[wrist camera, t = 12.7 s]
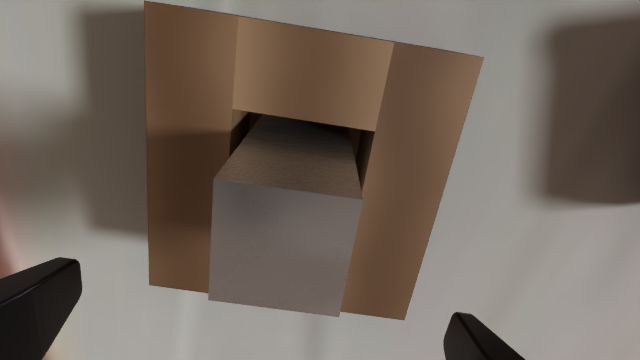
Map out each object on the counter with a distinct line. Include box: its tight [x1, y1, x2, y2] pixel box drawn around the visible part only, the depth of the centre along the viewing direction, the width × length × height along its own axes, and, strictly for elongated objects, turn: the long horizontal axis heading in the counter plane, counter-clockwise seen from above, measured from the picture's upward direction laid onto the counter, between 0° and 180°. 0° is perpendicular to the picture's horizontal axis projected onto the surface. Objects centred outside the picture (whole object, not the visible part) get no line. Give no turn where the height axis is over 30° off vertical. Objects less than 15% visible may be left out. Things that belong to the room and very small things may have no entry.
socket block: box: [144, 1, 484, 320], centre depth 18 cm, size 12×12×5 cm
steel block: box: [208, 114, 363, 317], centre depth 15 cm, size 4×4×9 cm
